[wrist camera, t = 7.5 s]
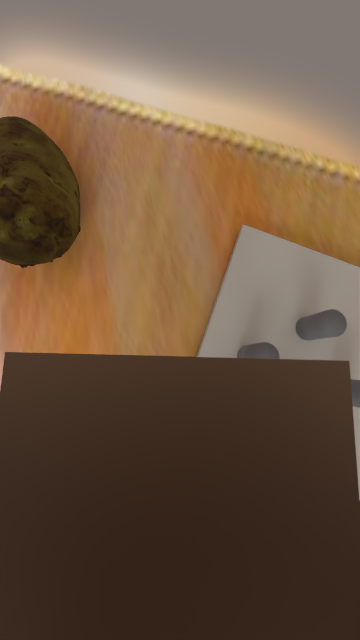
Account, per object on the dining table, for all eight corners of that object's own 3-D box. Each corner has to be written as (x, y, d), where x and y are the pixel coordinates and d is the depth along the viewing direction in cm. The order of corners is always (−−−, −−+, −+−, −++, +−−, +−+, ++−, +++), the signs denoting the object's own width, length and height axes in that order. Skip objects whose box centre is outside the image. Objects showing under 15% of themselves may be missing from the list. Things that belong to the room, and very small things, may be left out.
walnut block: (198, 429, 15) (379, 775, 3) (129, 428, 15) (-51, 807, 2) (199, 359, 16) (348, 360, 3) (133, 358, 16) (5, 352, 3)
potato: (104, 156, 25) (77, 62, 17) (87, 288, 23) (48, 250, 15) (14, 146, 24) (-57, 45, 17) (-12, 280, 22) (-106, 236, 15)
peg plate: (343, 538, 21) (394, 588, 17) (156, 470, 21) (154, 502, 16) (399, 289, 25) (453, 273, 20) (239, 230, 25) (257, 200, 20)
